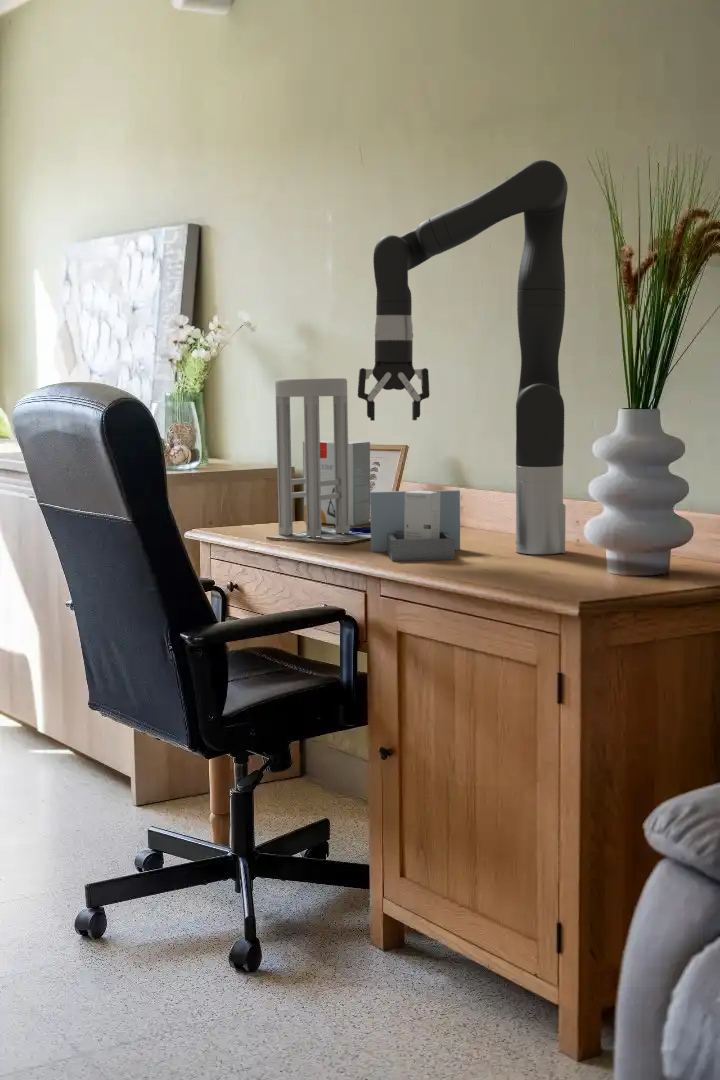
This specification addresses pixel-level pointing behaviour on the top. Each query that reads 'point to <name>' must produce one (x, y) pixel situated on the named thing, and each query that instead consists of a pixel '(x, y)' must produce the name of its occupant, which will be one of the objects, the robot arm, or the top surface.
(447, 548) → the grey open tray
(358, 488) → the hard drive box
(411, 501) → the skincare box
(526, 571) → the top surface
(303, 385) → the stool
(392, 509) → the backboard
